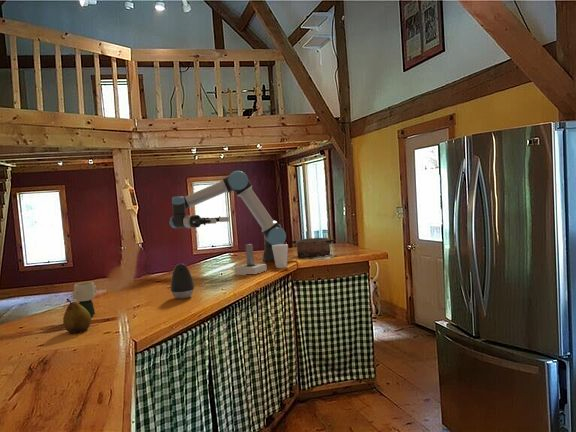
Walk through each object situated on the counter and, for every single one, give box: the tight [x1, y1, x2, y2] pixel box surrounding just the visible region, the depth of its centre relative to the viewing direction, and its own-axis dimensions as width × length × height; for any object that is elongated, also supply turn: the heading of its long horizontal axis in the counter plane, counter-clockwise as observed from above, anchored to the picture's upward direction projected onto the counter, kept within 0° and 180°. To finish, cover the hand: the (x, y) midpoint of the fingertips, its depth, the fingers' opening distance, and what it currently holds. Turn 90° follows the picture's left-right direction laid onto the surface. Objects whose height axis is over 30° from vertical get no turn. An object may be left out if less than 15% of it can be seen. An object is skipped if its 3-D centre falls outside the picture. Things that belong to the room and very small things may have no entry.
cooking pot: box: [291, 237, 336, 258], centre depth 327 cm, size 30×22×11 cm
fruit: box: [62, 298, 92, 334], centre depth 167 cm, size 9×9×12 cm
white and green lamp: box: [71, 281, 97, 316], centre depth 189 cm, size 11×7×13 cm, turn 153°
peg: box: [245, 243, 255, 267], centre depth 269 cm, size 4×4×16 cm
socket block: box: [234, 263, 268, 276], centre depth 270 cm, size 13×13×4 cm
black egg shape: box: [170, 263, 195, 300], centre depth 213 cm, size 10×10×15 cm
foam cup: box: [272, 243, 289, 269], centre depth 283 cm, size 10×9×13 cm
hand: (222, 220), depth 281 cm, fingers open, 13 cm apart
